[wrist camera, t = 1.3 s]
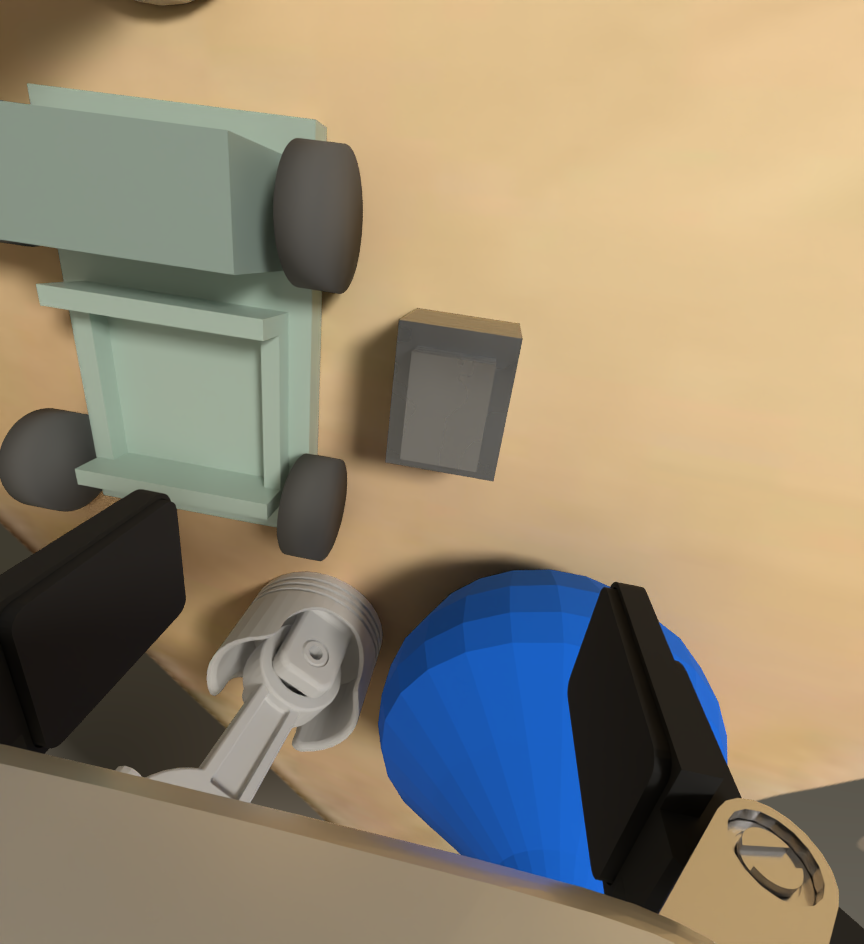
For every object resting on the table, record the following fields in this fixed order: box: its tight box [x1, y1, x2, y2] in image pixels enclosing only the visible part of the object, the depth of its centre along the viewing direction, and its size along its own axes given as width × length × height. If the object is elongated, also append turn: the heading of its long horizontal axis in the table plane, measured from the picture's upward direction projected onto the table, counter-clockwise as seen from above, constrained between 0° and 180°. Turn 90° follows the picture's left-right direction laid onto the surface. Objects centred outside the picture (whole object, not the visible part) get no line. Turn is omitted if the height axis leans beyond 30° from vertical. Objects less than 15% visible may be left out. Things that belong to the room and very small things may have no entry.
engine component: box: [115, 572, 383, 803], centre depth 27 cm, size 11×20×10 cm
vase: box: [378, 570, 727, 894], centre depth 25 cm, size 18×18×19 cm
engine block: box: [386, 308, 523, 481], centre depth 24 cm, size 7×6×6 cm
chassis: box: [0, 83, 363, 561], centre depth 25 cm, size 22×18×6 cm
